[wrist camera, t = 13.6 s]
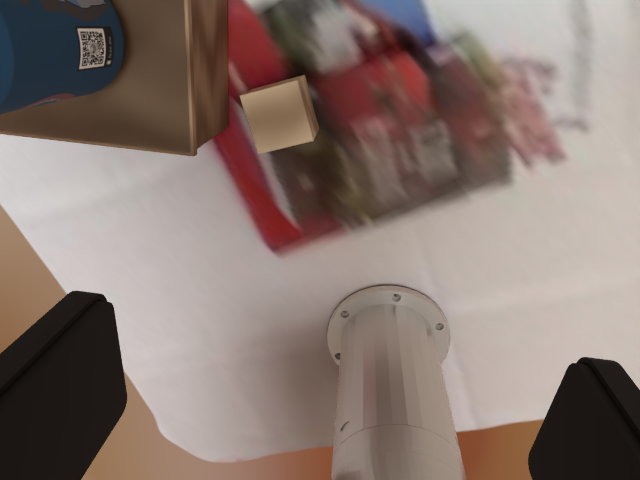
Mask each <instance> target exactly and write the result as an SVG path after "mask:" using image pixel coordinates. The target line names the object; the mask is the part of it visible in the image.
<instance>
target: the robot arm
mask: <svg viewBox="0 0 640 480" xmlns="http://www.w3.org/2000/svg"><path fill="white" fill-rule="evenodd" d="M395 294H396V295H395ZM327 343H328V349H329V351H330V354H331V356H332V358H333V360H334V361H335V363H336V364H337V365H338V366H339V380H338V393H337V406H336V419H335V432H334V445H333V458H332V472H331V480H466V475H465V471H464V467H463V462H462V458H461V453H460V448H459V445H458V440H457V435H456V431H455V427H454V422H453V418H452V413H451V409H450V405H449V400H448V396H447V391H446V387H445V382H444V378H443V373H442V369H441V363H442V362H443V360H444V359H445V357H446V355H447V352H448V350H449V344H450V334H449V328H448V324H447V321H446V319H445V317H444V315H443V313H442V311H441V310H440V309H439V307H438V306H437V305H436V304H435V303H434V302H433V301H431V300H430V299H429V298H428V297H426V296H425V295H423V294H421V293H419V292H417V291H414V290H411V289H409V288H405V287H399V286H376V287H370V288H367V289H364V290H361V291H358V292H357V293H355V294H353V295H351V296H349V297H348V298H347V299H345V300H344V301H343V302H342V303H341V304H340V305H339V306H338V307H337V308H336V310H335V311H334V313H333V315H332V317H331V319H330V322H329V326H328V332H327ZM126 403H127V392H126V385H125V379H124V372H123V365H122V359H121V352H120V346H119V339H118V332H117V326H116V319H115V313H114V307H113V305H112V303H110V302H107V300H106V298H105V296H104V295H102V294H97V293H90V292H82V291H72V292H70V293H69V294H67V295H66V296H65V297H64V298H63V299H62V300H61V301H59V302H58V303H57V304H56V305H55V306H54V307H53V308H52V309H51V310H49V311H48V312H47V313H46V314H45V315H44V316H43V317H41V318H40V319H39V320H38V321H37V322H36V323H35V324H34V325H33V326H31V327H30V328H29V329H28V330H27V331H26V332H25V333H23V334H22V335H21V336H20V337H19V338H18V339H17V340H15V341H14V342H13V343H12V344H11V345H10V346H9V347H8V348H6V349H5V350H4V351H3V352H2V353H1V354H0V480H81V479H82V477H83V475H84V474H85V472H86V471H87V469H88V468H89V466H90V464H91V463H92V461H93V460H94V458H95V457H96V455H97V453H98V452H99V450H100V449H101V447H102V445H103V444H104V442H105V441H106V439H107V437H108V436H109V435H110V433H111V431H112V430H113V428H114V427H115V425H116V423H117V422H118V420H119V419H120V417H121V416H122V414H123V412H124V409H125V407H126ZM528 465H529V471H530V474H531V477H532V479H533V480H640V390H639V389H638V387H637V386H636V385H635V383H634V382H633V381H632V379H631V378H630V377H629V375H628V374H627V373H626V371H625V370H624V369H623V368H622V366H621V365H620V364H619V363H617V362H615V361H611V360H604V359H596V358H588V357H583V358H581V359H579V360H578V362H577V363H572V364H571V365H569V367H568V368H567V370H566V373H565V375H564V377H563V379H562V382H561V384H560V386H559V388H558V390H557V393H556V395H555V397H554V399H553V402H552V404H551V406H550V408H549V410H548V413H547V415H546V417H545V419H544V422H543V424H542V426H541V428H540V430H539V433H538V435H537V437H536V440H535V442H534V444H533V446H532V448H531V450H530V453H529V458H528Z"/></svg>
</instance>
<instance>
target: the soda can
mask: <svg viewBox="0 0 640 480" xmlns="http://www.w3.org/2000/svg"><path fill="white" fill-rule="evenodd" d="M123 54H124V38H123V32H122V28H121V24H120V21H119V19H118V16H117V14H116V12H115V10H114V8H113V6H112V4H111V3H110V1H109V0H0V114H4V113H9V112H13V111H18V110H22V109H26V108H31V107H35V106H39V105H44V104H48V103H53V102H57V101H61V100H66V99H70V98H74V97H79V96H83V95H88V94H92V93H95V92H98V91H100V90H102V89H103V88H105V87H106V86H107V85H109V84H110V83H111V81H112V80H113V79H114V78H115V76H116V75H117V73H118V71H119V69H120V66H121V63H122V60H123Z"/></svg>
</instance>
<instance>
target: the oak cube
mask: <svg viewBox="0 0 640 480" xmlns="http://www.w3.org/2000/svg"><path fill="white" fill-rule="evenodd" d="M240 99H241V102H242V105H243V108H244V111H245V114H246V118H247V121H248V124H249V127H250V130H251V133H252V136H253V139H254V142H255V145H256V148H257V151H258V154H261V153H265V152H270V151H274V150H278V149H282V148H286V147H290V146H294V145H298V144H302V143H306V142H310V141H314V139H315V136H316V134H317V132H318V130H319V127H318V123H317V119H316V116H315V112H314V108H313V104H312V100H311V96H310V92H309V89H308V85H307V81H306V77H305V75H301V76H298V77H294V78H291V79H287V80H283V81H280V82H276V83H273V84H269V85H265V86H262V87H258V88H254V89H252V90H250V91H248V92H246V93H244V94H243V95H241V96H240Z"/></svg>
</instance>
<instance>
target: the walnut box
mask: <svg viewBox="0 0 640 480" xmlns="http://www.w3.org/2000/svg"><path fill="white" fill-rule="evenodd" d="M109 1H110V3H111V4H112V6H113V8H114V10H115V12H116V14H117V16H118V19H119V21H120V24H121V28H122V32H123V38H124V54H123V60H122V63H121V66H120V69H119V71H118V73H117V75H116V76H115V78H114V79H113V80H112V81H111V83H110V84H109V85H107V86H106V87H105V88H103V89H102V90H100V91H98V92H95V93H92V94H88V95H83V96H79V97H74V98H70V99H66V100H61V101H57V102H53V103H48V104H44V105H39V106H35V107H31V108H26V109H22V110H18V111H13V112H9V113H4V114H0V134H6V135H15V136H23V137H32V138H40V139H49V140H58V141H66V142H75V143H84V144H92V145H101V146H110V147H118V148H127V149H135V150H144V151H153V152H161V153H170V154H179V155H187V156H195V155H196V154H197V148H199V147H200V146H202V145H203V144H204V143H206V142H207V141H209V140H210V139H212V138H213V137H214V136H216V135H217V134H219V133H220V132H221V131H223V130H224V129H226V128H227V127H228V0H109Z"/></svg>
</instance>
